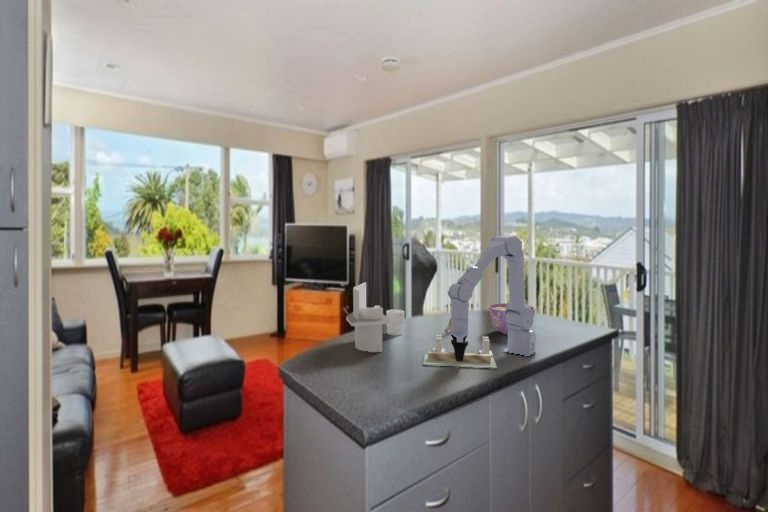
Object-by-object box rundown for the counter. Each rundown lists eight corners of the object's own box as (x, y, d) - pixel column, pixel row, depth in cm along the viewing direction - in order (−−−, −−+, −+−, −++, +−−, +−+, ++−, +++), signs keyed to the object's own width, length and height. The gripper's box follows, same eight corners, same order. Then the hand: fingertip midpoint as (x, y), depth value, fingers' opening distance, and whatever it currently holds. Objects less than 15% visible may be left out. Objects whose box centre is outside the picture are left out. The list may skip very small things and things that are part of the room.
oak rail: (490, 361, 142) (490, 354, 142) (490, 363, 140) (490, 356, 140) (428, 358, 146) (428, 351, 145) (428, 360, 143) (428, 353, 143)
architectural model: (403, 353, 153) (403, 290, 151) (346, 358, 147) (345, 292, 146) (383, 335, 180) (383, 281, 178) (334, 338, 174) (334, 283, 173)
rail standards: (491, 352, 154) (491, 336, 154) (492, 357, 148) (493, 341, 148) (433, 350, 157) (433, 334, 157) (432, 354, 151) (432, 338, 151)
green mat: (493, 359, 146) (493, 357, 146) (496, 369, 136) (496, 367, 135) (424, 355, 150) (424, 354, 150) (423, 365, 139) (423, 363, 139)
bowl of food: (486, 337, 177) (486, 310, 176) (488, 326, 196) (489, 302, 195) (536, 340, 171) (537, 312, 170) (534, 329, 190) (534, 304, 189)
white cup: (383, 332, 184) (383, 310, 183) (399, 330, 187) (399, 308, 187) (391, 336, 177) (391, 313, 176) (407, 334, 180) (407, 312, 180)
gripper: (447, 313, 150) (447, 351, 150) (447, 322, 135) (447, 363, 136) (467, 314, 149) (467, 351, 149) (469, 323, 134) (469, 364, 135)
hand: (459, 357), depth 143 cm, fingers open, 7 cm apart
